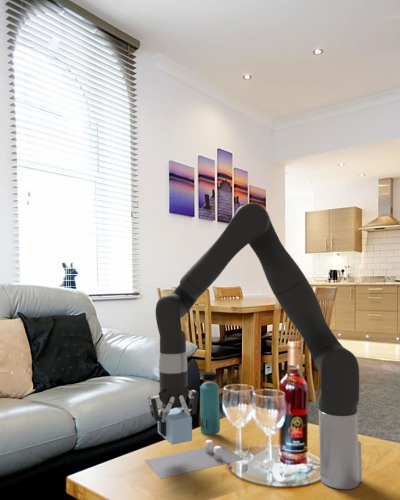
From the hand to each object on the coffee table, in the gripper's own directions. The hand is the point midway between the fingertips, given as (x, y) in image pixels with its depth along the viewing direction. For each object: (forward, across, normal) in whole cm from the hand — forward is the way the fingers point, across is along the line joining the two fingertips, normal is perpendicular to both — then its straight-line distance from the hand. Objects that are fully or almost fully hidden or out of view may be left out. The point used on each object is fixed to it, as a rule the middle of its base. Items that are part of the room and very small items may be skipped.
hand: (174, 433), depth 116 cm
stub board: (+10, +6, 0) cm, 11 cm away
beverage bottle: (+10, +20, +17) cm, 28 cm away
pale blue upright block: (+1, 0, 0) cm, 1 cm away
